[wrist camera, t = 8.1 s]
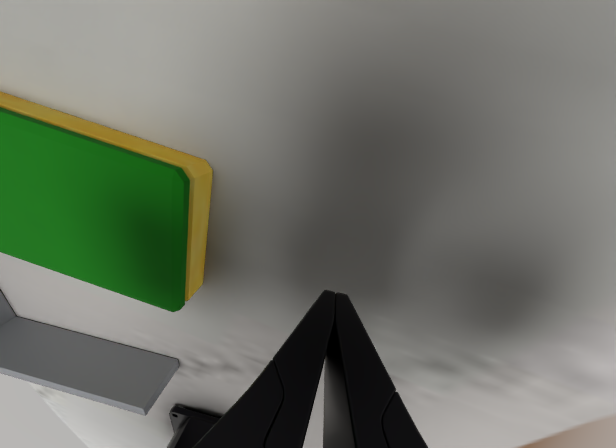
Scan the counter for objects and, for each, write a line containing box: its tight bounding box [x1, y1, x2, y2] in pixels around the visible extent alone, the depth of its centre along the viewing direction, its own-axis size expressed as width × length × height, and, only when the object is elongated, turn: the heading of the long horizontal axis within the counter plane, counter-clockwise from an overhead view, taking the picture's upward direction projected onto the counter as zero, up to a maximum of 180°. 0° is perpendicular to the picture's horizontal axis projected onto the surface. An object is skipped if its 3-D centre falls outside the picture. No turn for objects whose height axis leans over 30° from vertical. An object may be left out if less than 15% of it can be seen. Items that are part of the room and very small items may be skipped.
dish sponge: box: [0, 92, 213, 312], centre depth 10 cm, size 7×14×2 cm, turn 74°
